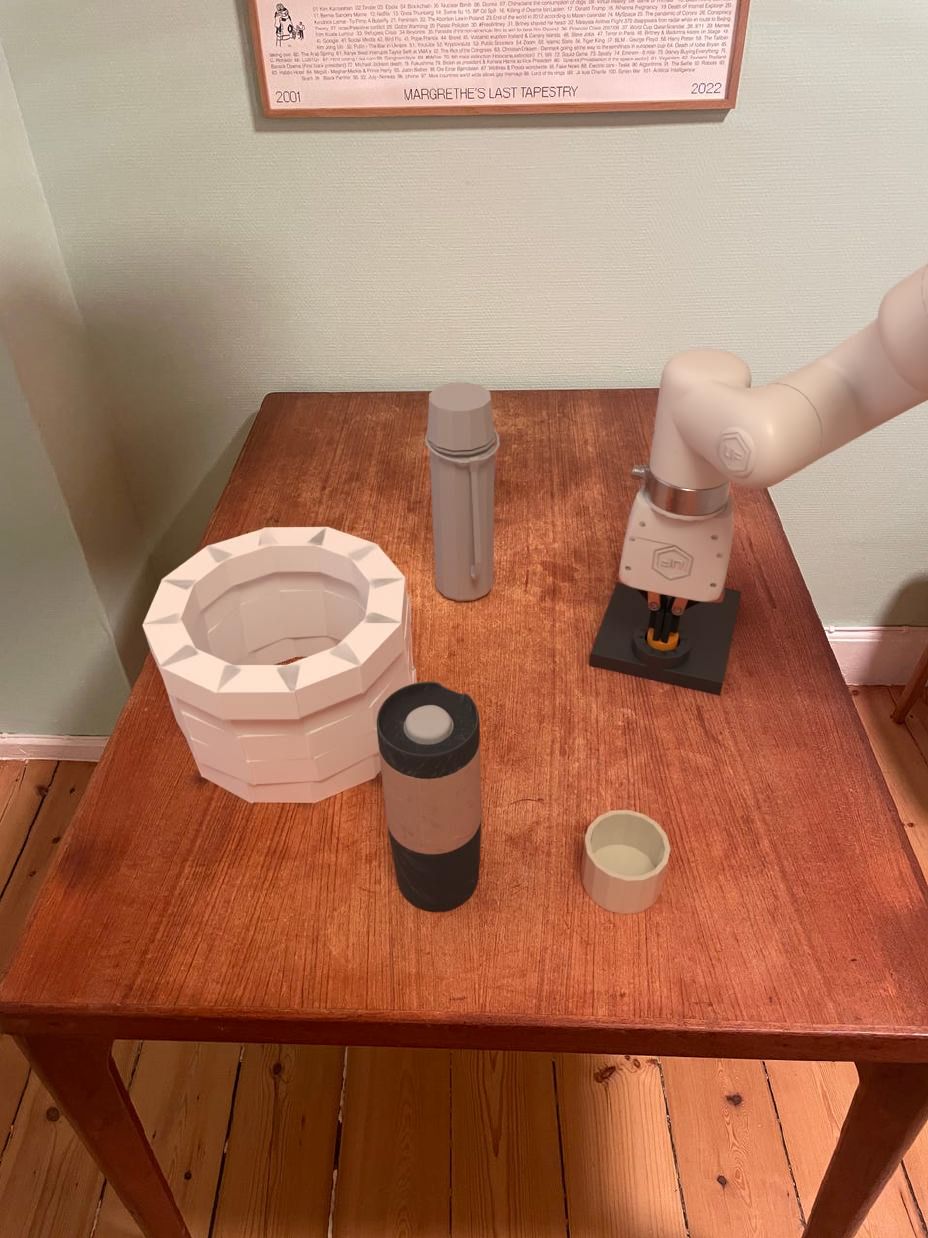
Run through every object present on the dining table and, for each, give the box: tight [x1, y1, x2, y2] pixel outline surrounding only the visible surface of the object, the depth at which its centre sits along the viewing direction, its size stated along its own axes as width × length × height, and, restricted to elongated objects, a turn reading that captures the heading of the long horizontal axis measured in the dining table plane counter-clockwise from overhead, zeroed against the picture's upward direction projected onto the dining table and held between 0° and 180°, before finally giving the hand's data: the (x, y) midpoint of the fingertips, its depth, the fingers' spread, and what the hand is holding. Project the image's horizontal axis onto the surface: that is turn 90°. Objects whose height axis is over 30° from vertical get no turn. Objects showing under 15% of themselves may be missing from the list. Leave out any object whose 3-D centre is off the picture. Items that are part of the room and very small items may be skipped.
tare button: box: [647, 628, 679, 651], centre depth 95 cm, size 3×3×2 cm
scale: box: [588, 580, 742, 696], centre depth 100 cm, size 14×16×4 cm
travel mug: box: [377, 680, 483, 913], centre depth 71 cm, size 8×8×20 cm
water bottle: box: [424, 382, 501, 603], centre depth 99 cm, size 9×8×25 cm
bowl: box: [580, 809, 672, 915], centre depth 75 cm, size 7×7×5 cm
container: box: [141, 526, 418, 805], centre depth 87 cm, size 25×24×16 cm
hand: (662, 633), depth 95 cm, fingers closed
